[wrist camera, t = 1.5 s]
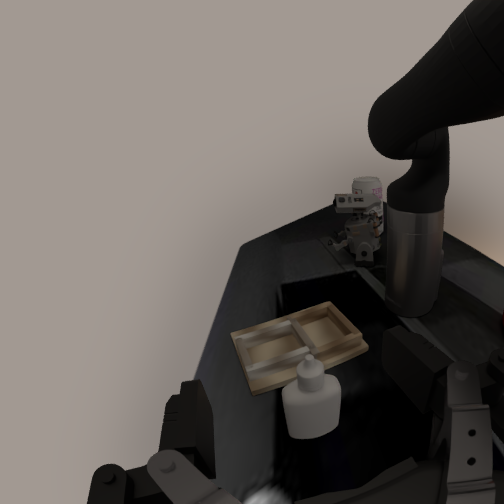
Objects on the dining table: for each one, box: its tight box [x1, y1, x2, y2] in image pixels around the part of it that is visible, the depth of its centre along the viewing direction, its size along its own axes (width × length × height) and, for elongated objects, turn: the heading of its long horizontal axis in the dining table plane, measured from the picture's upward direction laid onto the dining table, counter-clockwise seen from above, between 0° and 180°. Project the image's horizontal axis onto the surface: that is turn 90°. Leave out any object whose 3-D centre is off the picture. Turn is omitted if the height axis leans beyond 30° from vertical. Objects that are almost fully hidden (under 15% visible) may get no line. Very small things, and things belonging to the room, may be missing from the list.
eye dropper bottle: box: [282, 354, 341, 439], centre depth 24 cm, size 4×6×12 cm
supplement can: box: [352, 177, 383, 235], centre depth 70 cm, size 8×8×15 cm
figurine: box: [328, 192, 381, 267], centre depth 58 cm, size 9×12×15 cm
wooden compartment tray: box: [231, 301, 368, 396], centre depth 39 cm, size 17×13×3 cm
